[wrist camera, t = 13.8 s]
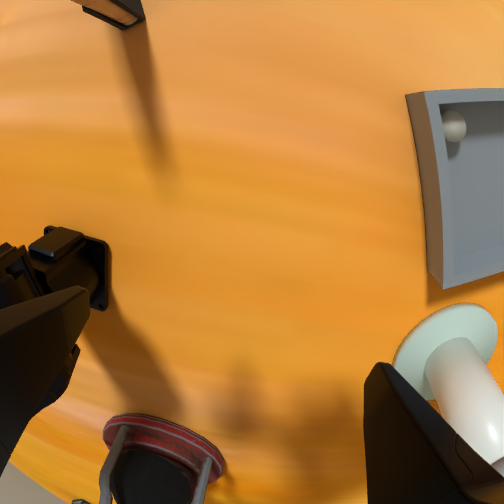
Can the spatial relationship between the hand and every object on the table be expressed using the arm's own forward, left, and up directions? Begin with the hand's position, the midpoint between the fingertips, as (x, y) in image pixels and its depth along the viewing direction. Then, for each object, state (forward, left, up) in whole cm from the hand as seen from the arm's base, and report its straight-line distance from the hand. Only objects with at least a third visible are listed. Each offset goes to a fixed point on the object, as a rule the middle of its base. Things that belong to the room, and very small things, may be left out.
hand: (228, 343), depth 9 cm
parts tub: (+8, -16, -13) cm, 22 cm away
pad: (-8, -19, -13) cm, 25 cm away
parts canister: (-8, -19, -12) cm, 24 cm away
